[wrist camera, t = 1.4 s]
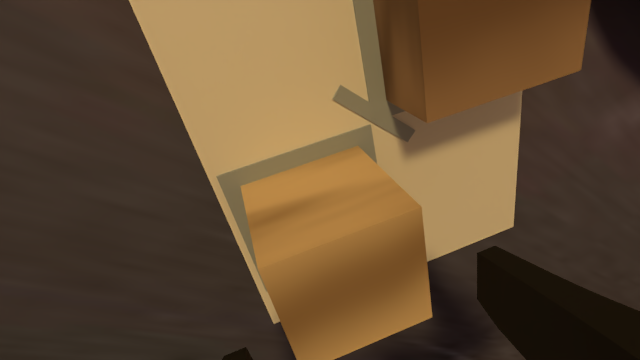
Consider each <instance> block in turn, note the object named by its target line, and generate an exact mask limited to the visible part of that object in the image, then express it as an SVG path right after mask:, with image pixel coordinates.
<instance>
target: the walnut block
mask: <svg viewBox="0 0 640 360" xmlns="http://www.w3.org/2000/svg"><path fill="white" fill-rule="evenodd" d="M373 4H374V11H375V19H376V26H377V34H378V41H379V49H380V56H381V64H382V71H383V79H384V86H385V94H386V100H387V101H389V102H390V103H392V104H394V105H396V106H397V107H399V108H401V109H403V110H405V111H406V112H408V113H410V114H412V115H413V116H415V117H417V118H419V119H420V120H422V121H424V122H426V123H429V122H432V121H435V120H438V119H441V118H444V117H447V116H450V115H453V114H456V113H458V112H461V111H464V110H467V109H470V108H473V107H476V106H479V105H482V104H485V103H487V102H490V101H493V100H496V99H499V98H502V97H505V96H508V95H511V94H513V93H516V92H519V91H522V90H525V89H528V88H531V87H534V86H537V85H540V84H542V83H545V82H548V81H551V80H554V79H557V78H560V77H563V76H566V75H569V74H571V73H574V72H577V71H580V70H581V66H582V59H583V52H584V45H585V38H586V32H587V25H588V18H589V11H590V4H591V0H373Z"/></svg>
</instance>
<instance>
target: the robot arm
mask: <svg viewBox="0 0 640 360" xmlns="http://www.w3.org/2000/svg"><path fill="white" fill-rule="evenodd" d="M477 299H478V301H479V302H480V303H481V305H482V306H483V308H484V309H485V311H486V312H487V313H488V315H489V316H490V318H491V319H492V320H493V322H494V323H495V324H496V326H497V327H498V328H499V330H500V331H501V332H502V333H503V334H504V335H505V336H506V338H507V339H508V340H509V341H510V342H511V343H512V344H513V345H514V346H515V348H516V349H517V350H518V351H519V352H520V353H521V354H522V355H523V356H524V357H525V359H526V360H640V311H638V310H635V309H633V308H630V307H628V306H625V305H623V304H620V303H618V302H615V301H613V300H611V299H608V298H606V297H603V296H601V295H599V294H596V293H594V292H592V291H589V290H587V289H585V288H583V287H580V286H578V285H576V284H574V283H572V282H570V281H567V280H565V279H563V278H561V277H559V276H557V275H555V274H552V273H550V272H548V271H546V270H544V269H542V268H540V267H538V266H536V265H534V264H532V263H530V262H528V261H526V260H523V259H521V258H519V257H517V256H515V255H513V254H511V253H509V252H507V251H505V250H503V249H501V248H499V247H497V246H493V247H491V248H488V249H486V250H483V251H481V252H479V253H477ZM222 360H253V359H252V357H251V356H250V354H249V352H248V350H247V348H246V347H245V348H243V349H240V350H238V351H235V352H233V353H231V354H228V355H226V356H224V357H223V359H222Z"/></svg>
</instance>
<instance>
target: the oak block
mask: <svg viewBox="0 0 640 360" xmlns="http://www.w3.org/2000/svg"><path fill="white" fill-rule="evenodd" d="M240 187H241V191H242V196H243V201H244V206H245V210H246V215H247V220H248V225H249V229H250V234H251V239H252V244H253V248H254V253H255V258H256V263H257V267H258V271H259V273H260V275H261V278H262V280H263V282H264V285H265V287H266V289H267V292H268V294H269V296H270V299H271V301H272V303H273V305H274V308H275V310H276V312H277V315H278V317H279V319H280V322H281V324H282V326H283V329H284V331H285V333H286V336H287V338H288V340H289V343H290V345H291V347H292V350H293V352H294V354H295V357H296V359H297V360H334V359H336V358H339V357H341V356H343V355H346V354H348V353H350V352H353V351H355V350H357V349H360V348H362V347H364V346H366V345H369V344H371V343H373V342H376V341H378V340H380V339H383V338H385V337H387V336H390V335H392V334H394V333H397V332H399V331H401V330H404V329H406V328H408V327H411V326H413V325H415V324H418V323H420V322H422V321H424V320H427V319H429V318H431V317H432V308H431V298H430V287H429V277H428V267H427V256H426V246H425V236H424V225H423V215H422V207H421V206H420V205H419V204H418V203H417V202H416V201H415V200H414V199H413V198H412V197H411V196H410V195H409V194H408V193H407V192H406V191H405V190H404V189H402V188H401V187H400V186H399V185H398V184H397V183H396V182H395V181H394V180H393V179H392V178H391V177H390V176H389V175H388V174H387V173H386V172H385V171H384V170H383V169H382V168H381V167H380V166H379V165H377V164H376V163H375V162H374V161H373V160H372V159H371V158H370V157H369V156H368V155H367V154H366V153H365V152H364V151H363V150H362V149H361V148H360V147H359V146H356V147H353V148H350V149H347V150H344V151H341V152H338V153H335V154H332V155H329V156H327V157H324V158H321V159H318V160H315V161H312V162H309V163H306V164H303V165H300V166H298V167H295V168H292V169H289V170H286V171H283V172H280V173H277V174H274V175H271V176H268V177H266V178H263V179H260V180H257V181H254V182H251V183H248V184H245V185H242V186H240Z"/></svg>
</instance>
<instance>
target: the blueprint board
mask: <svg viewBox="0 0 640 360" xmlns="http://www.w3.org/2000/svg"><path fill="white" fill-rule="evenodd" d="M129 2H130V4H131V6H132V8H133V11H134V13H135V15H136V17H137V19H138V22H139V24H140V26H141V28H142V31H143V33H144V35H145V37H146V40H147V42H148V44H149V46H150V49H151V51H152V53H153V55H154V57H155V60H156V62H157V64H158V66H159V69H160V71H161V73H162V75H163V78H164V80H165V82H166V84H167V87H168V89H169V91H170V93H171V95H172V98H173V100H174V102H175V104H176V107H177V109H178V111H179V113H180V116H181V118H182V120H183V122H184V124H185V127H186V129H187V131H188V133H189V136H190V138H191V140H192V142H193V145H194V147H195V149H196V151H197V154H198V156H199V158H200V160H201V162H202V165H203V167H204V169H205V171H206V174H207V176H208V178H209V180H210V183H211V185H212V187H213V189H214V192H215V194H216V196H217V198H218V200H219V203H220V205H221V207H222V209H223V212H224V214H225V216H226V218H227V221H228V223H229V225H230V227H231V230H232V232H233V234H234V236H235V238H236V241H237V243H238V245H239V247H240V250H241V252H242V254H243V256H244V259H245V261H246V263H247V265H248V267H249V270H250V272H251V274H252V276H253V279H254V281H255V283H256V285H257V288H258V290H259V292H260V294H261V297H262V299H263V301H264V303H265V305H266V308H267V310H268V312H269V314H270V317H271V319H272V321H273V323H274V324H275V323H277V322H280V319H279V317H278V315H277V312H276V310H275V308H274V305H273V303H272V301H271V299H270V296H269V294H268V292H267V289H266V287H265V285H264V282H263V280H262V278H261V275H260V273H259V271H258V267H257V263H256V258H255V253H254V248H253V244H252V239H251V234H250V229H249V225H248V220H247V215H246V210H245V206H244V201H243V196H242V191H241V187H240V186H242V185H245V184H248V183H251V182H254V181H257V180H260V179H263V178H266V177H268V176H271V175H274V174H277V173H280V172H283V171H286V170H289V169H292V168H295V167H298V166H300V165H303V164H306V163H309V162H312V161H315V160H318V159H321V158H324V157H327V156H329V155H332V154H335V153H338V152H341V151H344V150H347V149H350V148H353V147H356V146H359V147H360V148H361V149H362V150H363V151H364V152H365V153H366V154H367V155H368V156H369V157H370V158H371V159H372V160H373V161H374V162H375V163H376V164H377V165H379V166H380V167H381V168H382V169H383V170H384V171H385V172H386V173H387V174H388V175H389V176H390V177H391V178H392V179H393V180H394V181H395V182H396V183H397V184H398V185H399V186H400V187H401V188H402V189H404V190H405V191H406V192H407V193H408V194H409V195H410V196H411V197H412V198H413V199H414V200H415V201H416V202H417V203H418V204H419V205H420V206H421V207H422V215H423V225H424V236H425V246H426V256H427V261H430V260H432V259H435V258H437V257H440V256H442V255H445V254H447V253H450V252H452V251H455V250H457V249H460V248H462V247H464V246H467V245H469V244H472V243H474V242H477V241H479V240H482V239H484V238H487V237H489V236H492V235H494V234H496V233H499V232H501V231H504V230H506V229H509V228H511V227H513V224H514V209H515V194H516V179H517V163H518V148H519V133H520V118H521V102H522V91H519V92H516V93H513V94H511V95H508V96H505V97H502V98H499V99H496V100H493V101H490V102H487V103H485V104H482V105H479V106H476V107H473V108H470V109H467V110H464V111H461V112H458V113H456V114H453V115H450V116H447V117H444V118H441V119H438V120H435V121H432V122H429V123H426V122H424V121H422V120H420V119H419V118H417V117H415V116H413V115H412V114H410V113H408V112H406V111H405V110H403V109H401V108H399V107H397V106H396V105H394V104H392V103H390V102H389V101H387V100H386V94H385V86H384V79H383V71H382V64H381V56H380V49H379V41H378V34H377V26H376V19H375V11H374V4H373V0H129Z"/></svg>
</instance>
